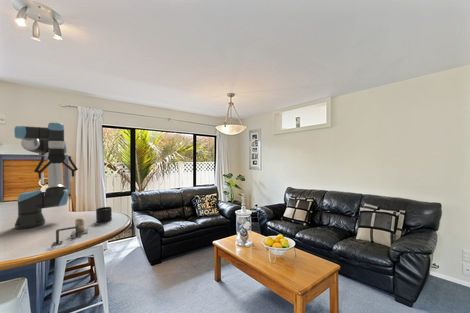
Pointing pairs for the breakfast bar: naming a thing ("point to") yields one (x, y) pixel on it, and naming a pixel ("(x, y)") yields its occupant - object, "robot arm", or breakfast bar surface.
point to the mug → (103, 214)
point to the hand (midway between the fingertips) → (57, 182)
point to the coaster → (80, 233)
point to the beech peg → (80, 224)
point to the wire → (65, 229)
